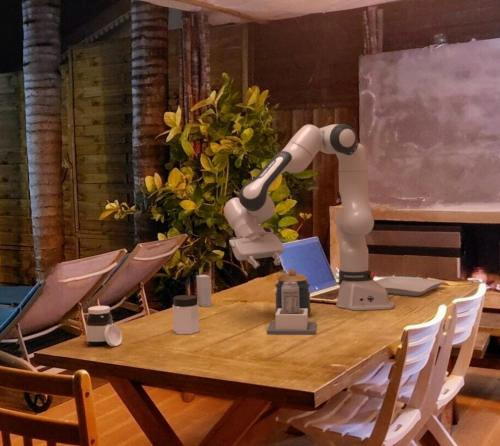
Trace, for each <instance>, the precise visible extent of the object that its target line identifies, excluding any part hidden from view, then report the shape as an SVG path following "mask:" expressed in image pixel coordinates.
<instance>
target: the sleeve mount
mask: <svg viewBox="0 0 500 446" xmlns="http://www.w3.org/2000/svg"><path fill="white" fill-rule="evenodd" d="M316 331H317V321H309V317H308V309H299V314H282V308H278V310H277V312H276V311H275V319H274V320H271V321H270V323H269V325H268V327H267V329H266V335H280V336H281V335H286V336H287V335H289V336H290V335H291V336H293V335H294V336H295V335H298V336H299V335H301V336H303V335H305V336H308V335H309V336H311V335H313V336H314V335H316Z"/></svg>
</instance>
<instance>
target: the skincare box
mask: <svg viewBox="0 0 500 446" xmlns="http://www.w3.org/2000/svg"><path fill="white" fill-rule="evenodd" d="M195 277H196V292H197V293H196V294H197V300H198V302H197V304H198V305H199V306H200V307H203V308H207V307H212V294H211V293H212V292H211V291H212V290H211V276H209V275H207V274H198V275H197V274H196V276H195Z"/></svg>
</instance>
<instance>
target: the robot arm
mask: <svg viewBox="0 0 500 446" xmlns="http://www.w3.org/2000/svg"><path fill="white" fill-rule="evenodd" d="M317 153H320V154H323V155H327V154H329V155H336V157H337V160H338V192H339V195H340V201H341V206H342V207H341V208H340V209H338V210H336V211H337V212H336V213H335V215H334V222H335V223H334V224H335V227H336V228H335V229H336V235H337V241H338V247H339V270H338V284H339V287H338V288H339V289H338V290H339V291H338V296H337V302H336V304H335V305H336V306H337V307H338V308H341V309H347V310H350V311H371V310H372V311H373V310H375V311H376V310H391V309H394V308H395V302H394V301H393V300H390V298H389V294H388V293H387V291H386V289H385V288H384V287H383V286H381V285H380V284H379V283H377V282H376V280H375V278H376V273H375V272H374V271H372V270H371V269H369V248H368V245H367V242H366V241H367V240H366V235H368V234H369V233H371V232H372V231H373V229H374V225H375V219H374V217H373V214H372V208H371V202H370V197H369V187H368V183H369V182H368V181H369V180H368V160H367V153H366V148H365V146H364V145H363V144H362V143H361V142H359V139H358V135H357V132H356V130H355V129H354V127H352V126H351V125H348V124H345V123H339V124H338V123H337V124H335V123H334V124H330V125H325V126H320V127H317V126H316V125H314V124H305V125H303V126H302V127H301V128H300V129H299V130H297V132H296V133H295V134H294V135H293V136H292V137H291V138H290V140H289V141H288V143H287V144H286V145H285V147H284V148H283V149H281V150H280V151H278V153H275V155H274V156H273V157H272V158H271V159H270V160H269V161H268V162H267V163H266V165H265V166H264V167H263V168H262V169H261V170H260V171H259V172H258V174H256V176H255V177H253V178H252V180H250V181H248V182H247V183H245V184H244V185H243V186H242V188H241V189H240V191H239V193H238V197H232V198H231V199H229V200H228V201H227V202H226V204H225V206H224V208H223V212H224V217H225V219H226V221H227V222H228V224H229V226H230V228H231V229H232V230H234V234H235V236H236V237H231V238H230V239H229V241H228V242H229V243H228V244H229V245H230V246H231V250H232V253H233V255H234V257H235V258H236V260H237V261H238V262H239V261H241V262H242V261H247V263H249V264H251V266H253V268H254V269H258V268H259V267H260V266H261V264H260V263H259V261H256V260H255V259H265V258H271V257H272V258H273V259H274V261H273V264H274V265H275V266H279V265H280V264H281V260H280V256H281V255H282V254H283V252H284V250H285V247H284V245H283V243H282V241H281V240H280V239H279V238H278V236H277V235H276V234H274V230H273V228H271V227H266V226H263V225H260V224H263V223H265V222H267V221H269V220H271V218H272V217H273V216H274V214H275V211H276V205H275V203H274V201H273V200H272V198H271V197H270V195H269V190H270V188H271V186H272V185H273V184H274V183H275V181H277V180H278V179H279V177H280V176H281V175H282V174H283V173H285V172H289V173H292V174H298V173H302V172H303V171H305V170H306V169H307V168H308V167H309V165H310V164H311V162H312V161H313V160H314V158H315V156H316V154H317Z"/></svg>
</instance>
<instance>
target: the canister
mask: <svg viewBox="0 0 500 446" xmlns="http://www.w3.org/2000/svg"><path fill="white" fill-rule="evenodd" d="M276 279H277V282H276V283H275V285H274V286H275V288H276V289H275V290H276V292H275V294H274V295H275V313H276V312H277V310H278V308H282V294H281V287H282V285H283V282H287V281H294V282H297V284H298V286H299V309H308V318H309V317H310V316H311V299H310V298H311V292H310V289H309V288H310V286H311V284H310V283H309V282H308V279H309V278H308V277H307V276H305V274H303V273H297V271H296V269H294V268H291V269H289V270H288V273H283V274H281V275H280V276H279V277H277V278H276Z"/></svg>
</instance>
